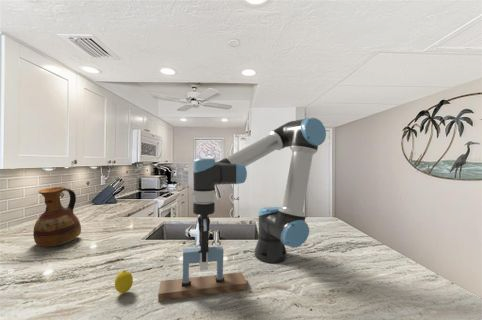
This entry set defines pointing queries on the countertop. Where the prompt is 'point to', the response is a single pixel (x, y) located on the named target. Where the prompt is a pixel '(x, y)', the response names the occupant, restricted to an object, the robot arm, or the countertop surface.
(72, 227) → the ceramic pitcher
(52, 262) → the countertop surface
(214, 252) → the clip
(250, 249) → the countertop surface
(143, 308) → the countertop surface
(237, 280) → the rail
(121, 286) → the lemon
